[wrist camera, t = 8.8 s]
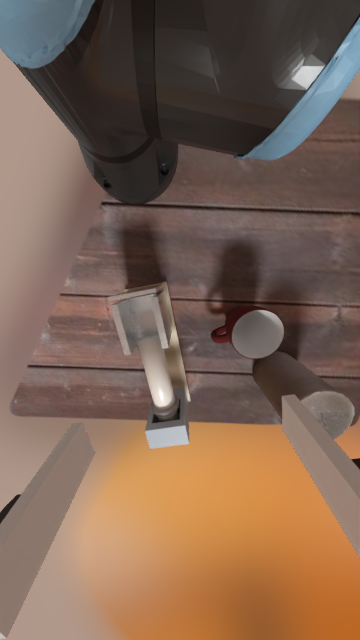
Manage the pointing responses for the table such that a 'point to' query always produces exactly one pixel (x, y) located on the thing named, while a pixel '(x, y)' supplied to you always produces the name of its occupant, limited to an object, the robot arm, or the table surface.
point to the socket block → (169, 425)
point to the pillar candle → (303, 391)
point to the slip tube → (158, 378)
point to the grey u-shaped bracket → (141, 316)
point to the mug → (251, 331)
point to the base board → (173, 348)
